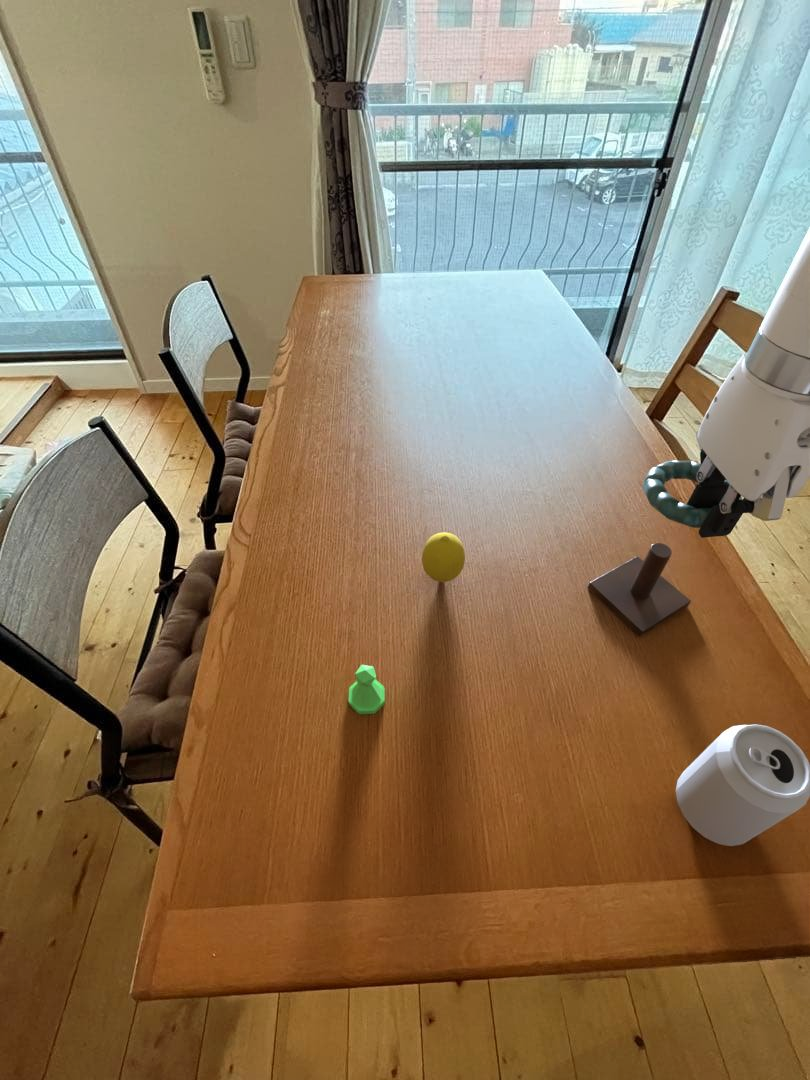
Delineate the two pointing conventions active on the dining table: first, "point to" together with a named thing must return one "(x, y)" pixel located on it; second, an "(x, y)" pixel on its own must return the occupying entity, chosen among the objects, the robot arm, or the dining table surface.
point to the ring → (669, 504)
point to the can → (744, 784)
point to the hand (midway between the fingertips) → (705, 522)
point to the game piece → (366, 692)
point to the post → (641, 591)
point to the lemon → (443, 557)
